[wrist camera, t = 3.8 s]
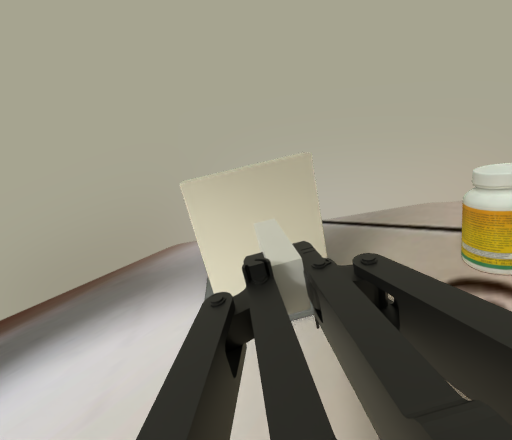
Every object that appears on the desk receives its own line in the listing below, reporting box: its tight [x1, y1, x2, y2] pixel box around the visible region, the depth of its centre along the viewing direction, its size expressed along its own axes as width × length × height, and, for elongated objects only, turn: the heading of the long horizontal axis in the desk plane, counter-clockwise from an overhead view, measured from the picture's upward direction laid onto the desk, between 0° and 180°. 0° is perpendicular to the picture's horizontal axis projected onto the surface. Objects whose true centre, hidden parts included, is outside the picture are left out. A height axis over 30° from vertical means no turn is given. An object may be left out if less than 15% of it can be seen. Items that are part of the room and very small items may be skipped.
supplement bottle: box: [461, 163, 512, 275], centre depth 24 cm, size 5×5×10 cm
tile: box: [179, 152, 327, 296], centre depth 26 cm, size 2×12×14 cm, turn 97°
